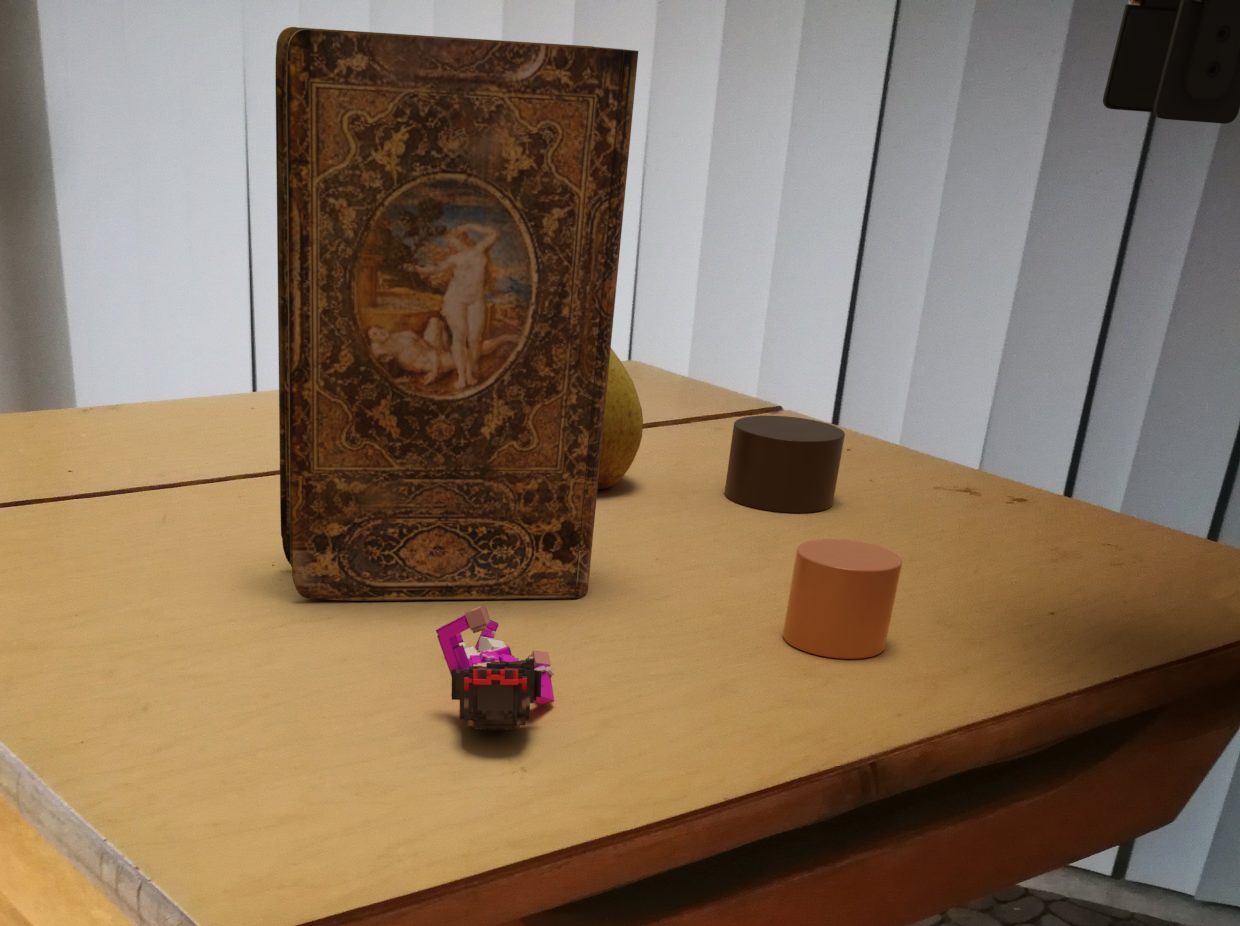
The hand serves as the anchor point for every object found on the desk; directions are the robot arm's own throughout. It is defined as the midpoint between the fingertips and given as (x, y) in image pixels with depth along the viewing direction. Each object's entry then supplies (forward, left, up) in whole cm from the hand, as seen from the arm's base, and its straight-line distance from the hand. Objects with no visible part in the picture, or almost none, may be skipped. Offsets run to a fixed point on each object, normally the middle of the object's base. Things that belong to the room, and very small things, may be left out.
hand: (1163, 114), depth 66 cm
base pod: (+12, -27, -24) cm, 38 cm away
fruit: (+26, -26, -24) cm, 44 cm away
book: (+31, -2, -24) cm, 39 cm away
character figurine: (+26, +14, -24) cm, 38 cm away
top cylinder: (+10, +1, -24) cm, 26 cm away
